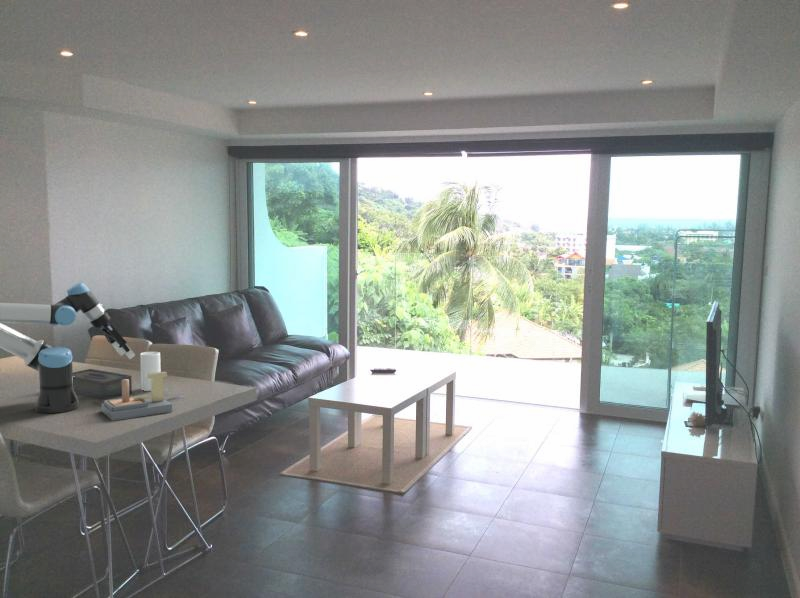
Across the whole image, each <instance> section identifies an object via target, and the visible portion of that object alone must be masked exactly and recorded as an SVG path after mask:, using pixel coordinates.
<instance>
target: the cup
mask: <svg viewBox="0 0 800 598" xmlns="http://www.w3.org/2000/svg"><path fill="white" fill-rule="evenodd" d="M157 372H162V369H161V352H160V351H159V352H158V351H145V352H141V353H140V387H141V389H140V390H141V391H143V390H144V392H151V379H149V378H147V374H148V373H157Z"/></svg>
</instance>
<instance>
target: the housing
mask: <svg viewBox="0 0 800 598" xmlns="http://www.w3.org/2000/svg"><path fill="white" fill-rule="evenodd" d="M135 396H136V395H135ZM135 396H129V398H133V397H135ZM118 399H122V397H119V398H113V399H105V400H103V403H101V412H102V413H103V414H104V415H105V416H106V415H107V417H108V418H109V419H110V420H111V421H112V422H113V421H121V420H126V419H133V418H139V417H146V416H153V415H160V414H166V413H172V412H173V404H172V403H171V402H169V401H168V400H166V399H165V398H164V400H163V401H156V402H153V401H152V399H151V398H148V399H140V401H142V402H143V403H138V404H131V405H124V406H117V407H114V406H113V405H111V404H110V403H109V401H111V400H118Z"/></svg>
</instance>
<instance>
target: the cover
mask: <svg viewBox="0 0 800 598" xmlns="http://www.w3.org/2000/svg"><path fill="white" fill-rule="evenodd" d="M129 397H130V379H128V378H124V379H121V398H122V399H118V398H117V399H118V400H111V399H110V400H111V401H109V403H110V404H111V405H113V406H114V407H117V406H124V405H131V404H138V403H143V402H142V401H140V400H134V399H133V398H129Z"/></svg>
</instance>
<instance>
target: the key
mask: <svg viewBox="0 0 800 598" xmlns="http://www.w3.org/2000/svg"><path fill="white" fill-rule="evenodd" d="M167 377H168V372H167V371H161V372H157V373H148V374H147V378H149V379H151V391H150V392H151V393H149V394H143V395H135V397H134V396H132V397H133V399H134V400H140V399H148V398H151V399H152V401H153V402H156V401H163V400H164V399H165V398H164V397H165V396H164V394H165V393H164V378H167Z"/></svg>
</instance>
